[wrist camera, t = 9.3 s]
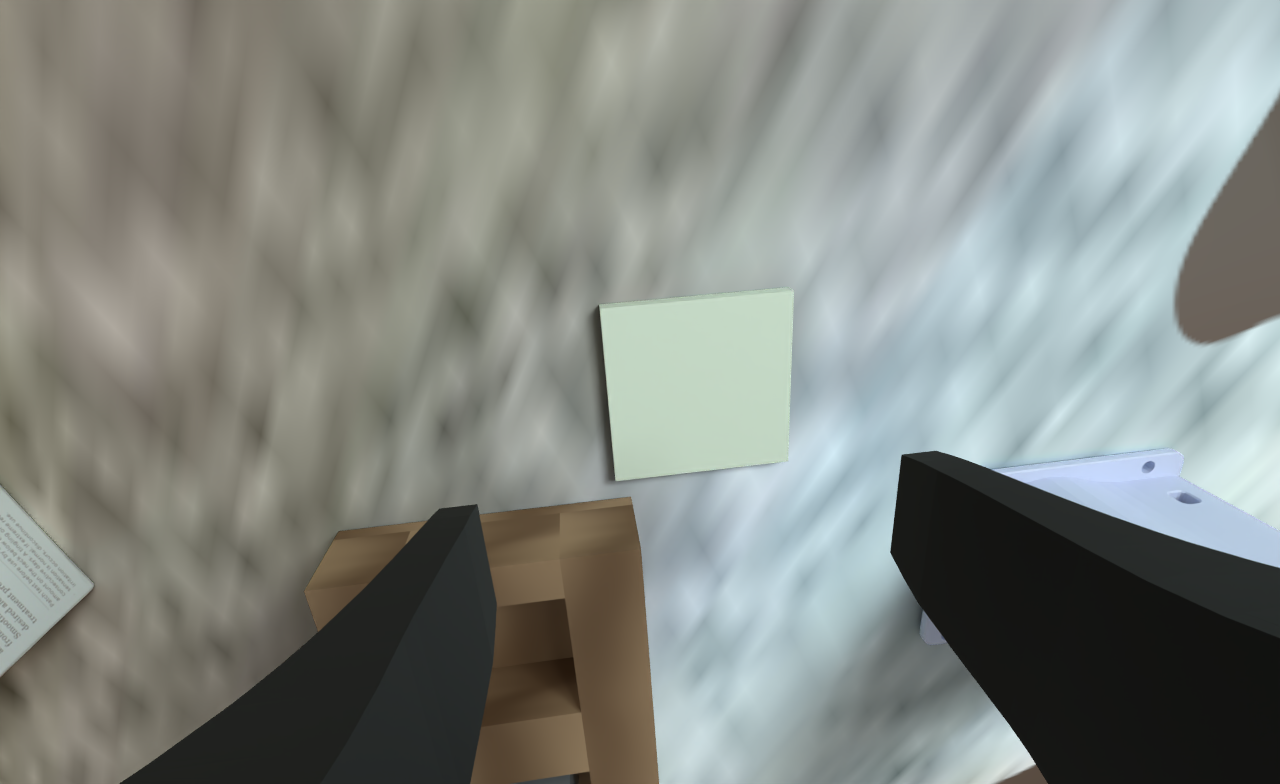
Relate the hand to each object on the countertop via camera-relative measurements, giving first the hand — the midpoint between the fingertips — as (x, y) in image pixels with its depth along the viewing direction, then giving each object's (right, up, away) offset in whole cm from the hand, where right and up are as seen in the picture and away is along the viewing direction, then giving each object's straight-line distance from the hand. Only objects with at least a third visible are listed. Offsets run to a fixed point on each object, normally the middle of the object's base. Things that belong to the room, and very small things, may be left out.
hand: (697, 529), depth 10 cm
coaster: (+1, +3, +10) cm, 10 cm away
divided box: (-6, -9, +14) cm, 18 cm away
